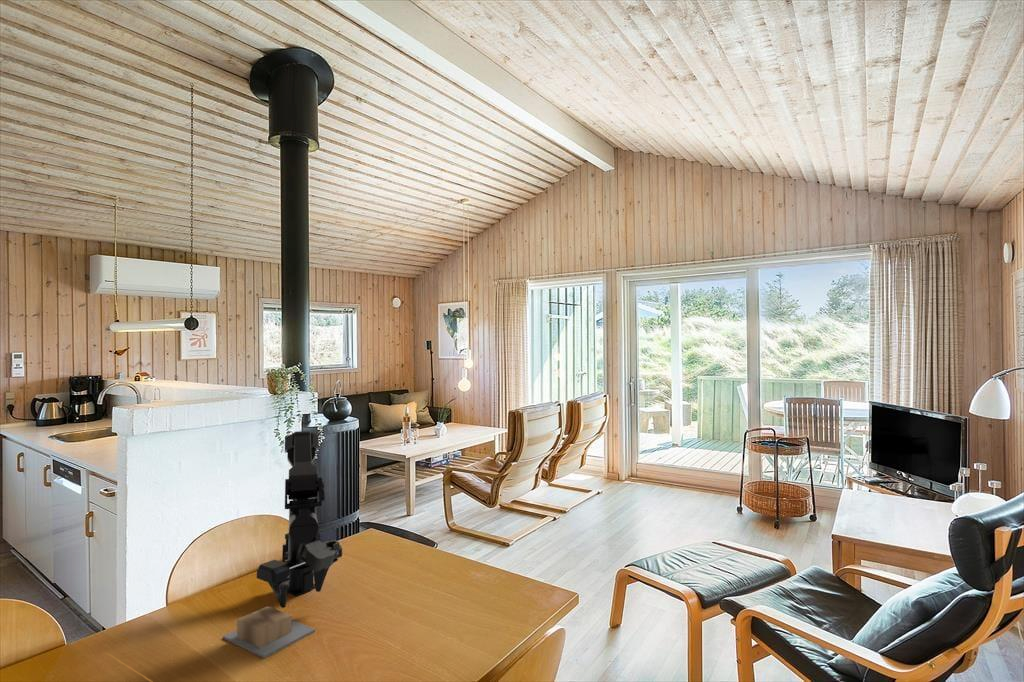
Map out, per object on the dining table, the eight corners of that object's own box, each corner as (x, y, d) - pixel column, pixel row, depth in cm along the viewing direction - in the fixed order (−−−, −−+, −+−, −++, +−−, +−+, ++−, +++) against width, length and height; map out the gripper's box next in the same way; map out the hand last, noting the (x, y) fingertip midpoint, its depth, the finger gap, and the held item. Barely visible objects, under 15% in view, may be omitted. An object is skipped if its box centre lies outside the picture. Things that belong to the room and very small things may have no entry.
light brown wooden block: (267, 623, 117) (237, 637, 111) (267, 606, 117) (237, 619, 111) (291, 632, 113) (260, 648, 107) (291, 615, 113) (260, 629, 107)
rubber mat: (222, 638, 112) (222, 635, 112) (274, 614, 122) (274, 612, 122) (264, 658, 105) (264, 655, 105) (315, 631, 115) (315, 629, 115)
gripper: (289, 548, 108) (288, 626, 108) (359, 523, 124) (358, 592, 124) (255, 538, 114) (254, 612, 114) (326, 516, 130) (325, 581, 130)
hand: (301, 599), depth 120 cm, fingers open, 9 cm apart
